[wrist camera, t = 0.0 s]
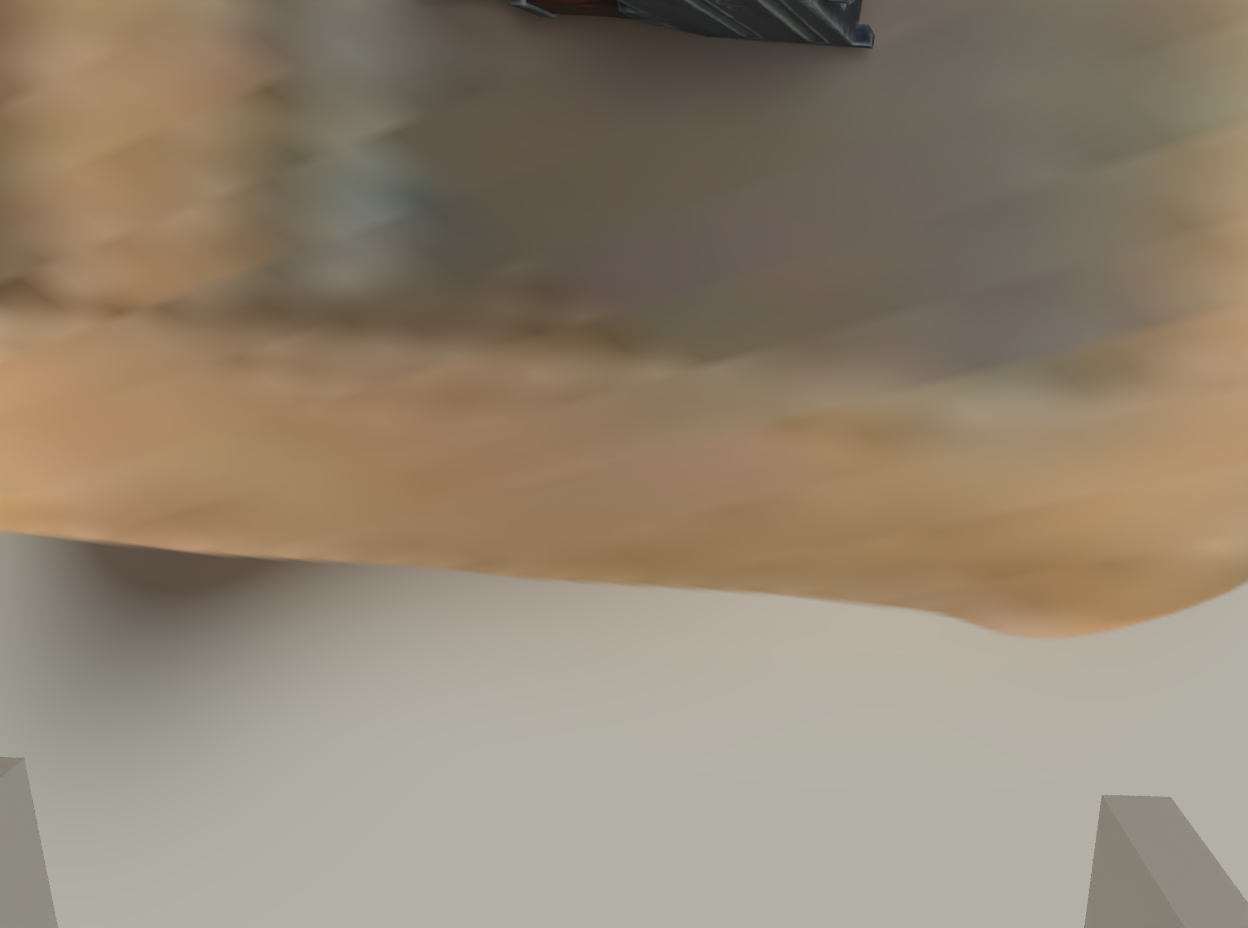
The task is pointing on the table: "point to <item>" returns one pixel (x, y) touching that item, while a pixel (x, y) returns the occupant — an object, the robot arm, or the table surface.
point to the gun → (731, 18)
